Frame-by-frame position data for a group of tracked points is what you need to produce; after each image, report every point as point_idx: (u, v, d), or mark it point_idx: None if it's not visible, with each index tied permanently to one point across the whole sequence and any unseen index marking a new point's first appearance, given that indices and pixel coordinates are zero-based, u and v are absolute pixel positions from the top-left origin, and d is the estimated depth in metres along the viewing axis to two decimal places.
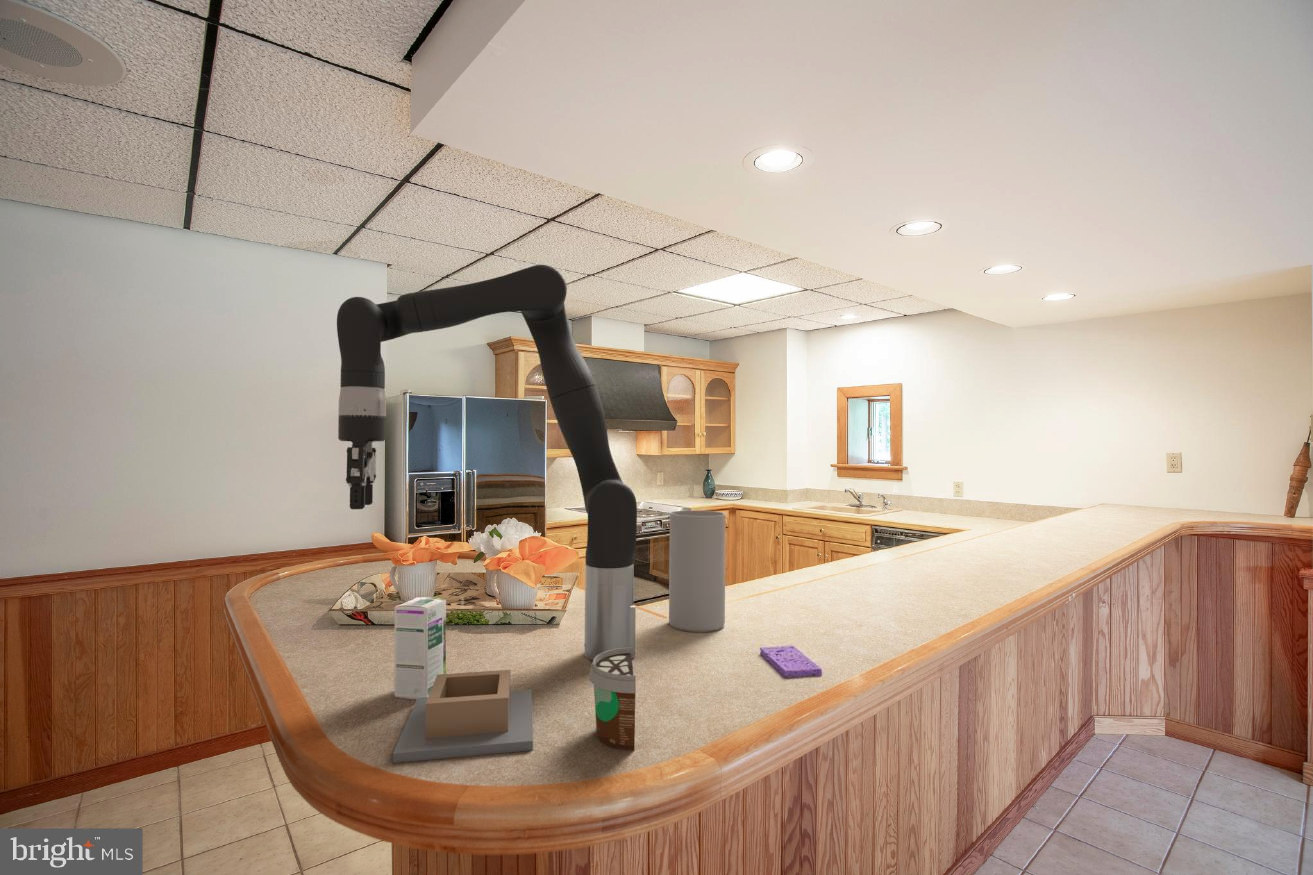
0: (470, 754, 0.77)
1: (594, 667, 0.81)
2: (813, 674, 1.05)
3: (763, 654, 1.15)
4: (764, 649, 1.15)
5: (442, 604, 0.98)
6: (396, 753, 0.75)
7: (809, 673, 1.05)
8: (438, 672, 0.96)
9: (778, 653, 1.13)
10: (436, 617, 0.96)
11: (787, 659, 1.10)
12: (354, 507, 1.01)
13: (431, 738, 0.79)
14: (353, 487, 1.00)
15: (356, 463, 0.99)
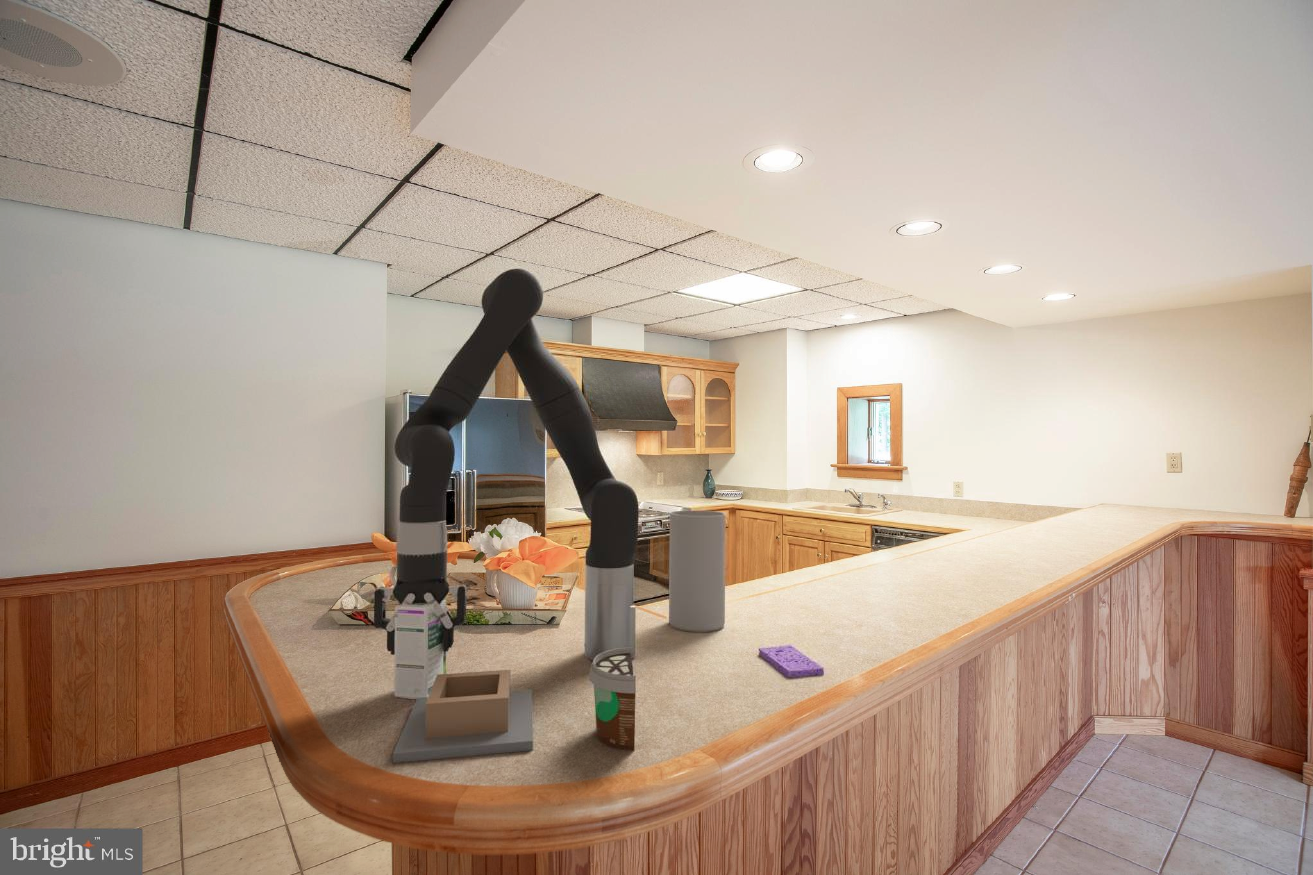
0: (470, 754, 0.77)
1: (594, 667, 0.81)
2: (815, 673, 1.06)
3: (762, 655, 1.14)
4: (763, 649, 1.15)
5: (442, 604, 0.98)
6: (396, 753, 0.75)
7: (812, 673, 1.05)
8: (438, 672, 0.96)
9: (778, 653, 1.13)
10: (436, 617, 0.96)
11: (788, 659, 1.10)
12: (448, 648, 0.97)
13: (431, 738, 0.79)
14: (453, 627, 0.97)
15: (465, 601, 0.99)
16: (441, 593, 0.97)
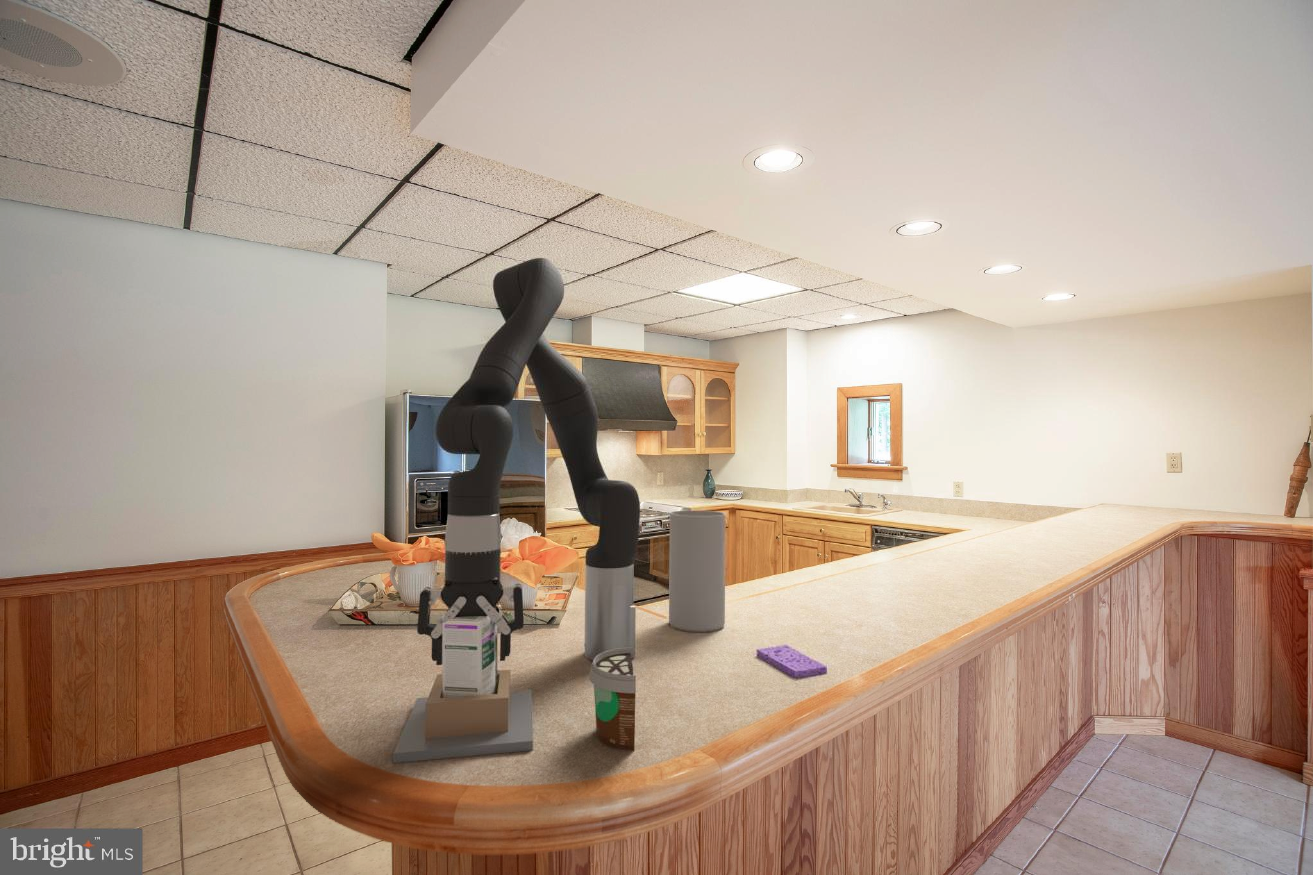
0: (470, 754, 0.77)
1: (594, 667, 0.81)
2: (819, 672, 1.06)
3: (761, 656, 1.14)
4: (761, 650, 1.14)
5: None
6: (396, 753, 0.75)
7: (816, 672, 1.06)
8: (490, 694, 0.85)
9: (777, 654, 1.13)
10: (489, 632, 0.85)
11: (789, 659, 1.10)
12: None
13: (431, 738, 0.79)
14: None
15: None
16: (495, 596, 0.85)
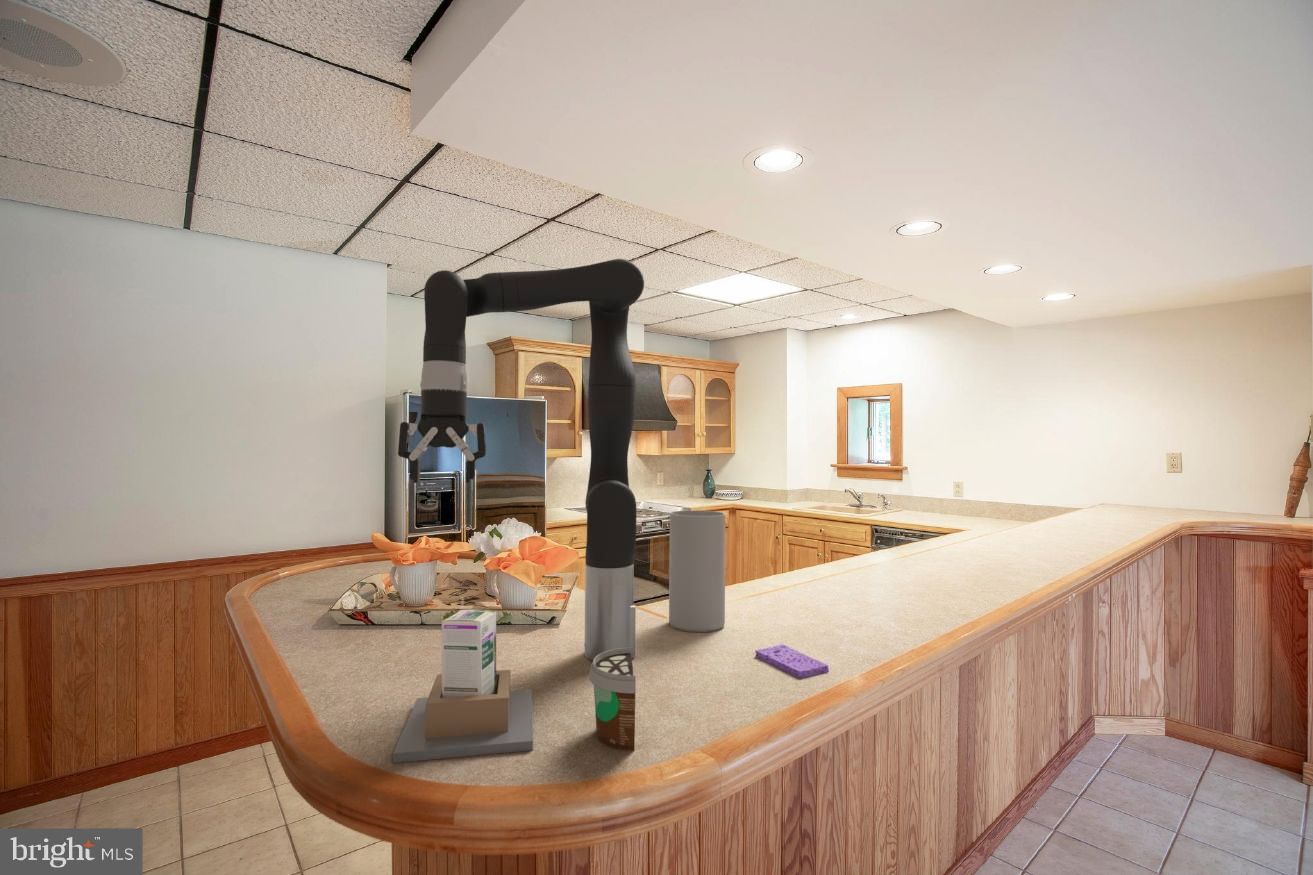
0: (470, 754, 0.77)
1: (594, 667, 0.81)
2: (822, 671, 1.07)
3: (761, 656, 1.13)
4: (761, 651, 1.14)
5: (492, 616, 0.86)
6: (396, 753, 0.75)
7: (819, 671, 1.06)
8: (490, 694, 0.85)
9: (777, 654, 1.13)
10: (488, 632, 0.85)
11: (790, 659, 1.10)
12: (470, 480, 1.05)
13: (431, 738, 0.79)
14: (475, 461, 1.05)
15: None
16: (462, 429, 1.04)
